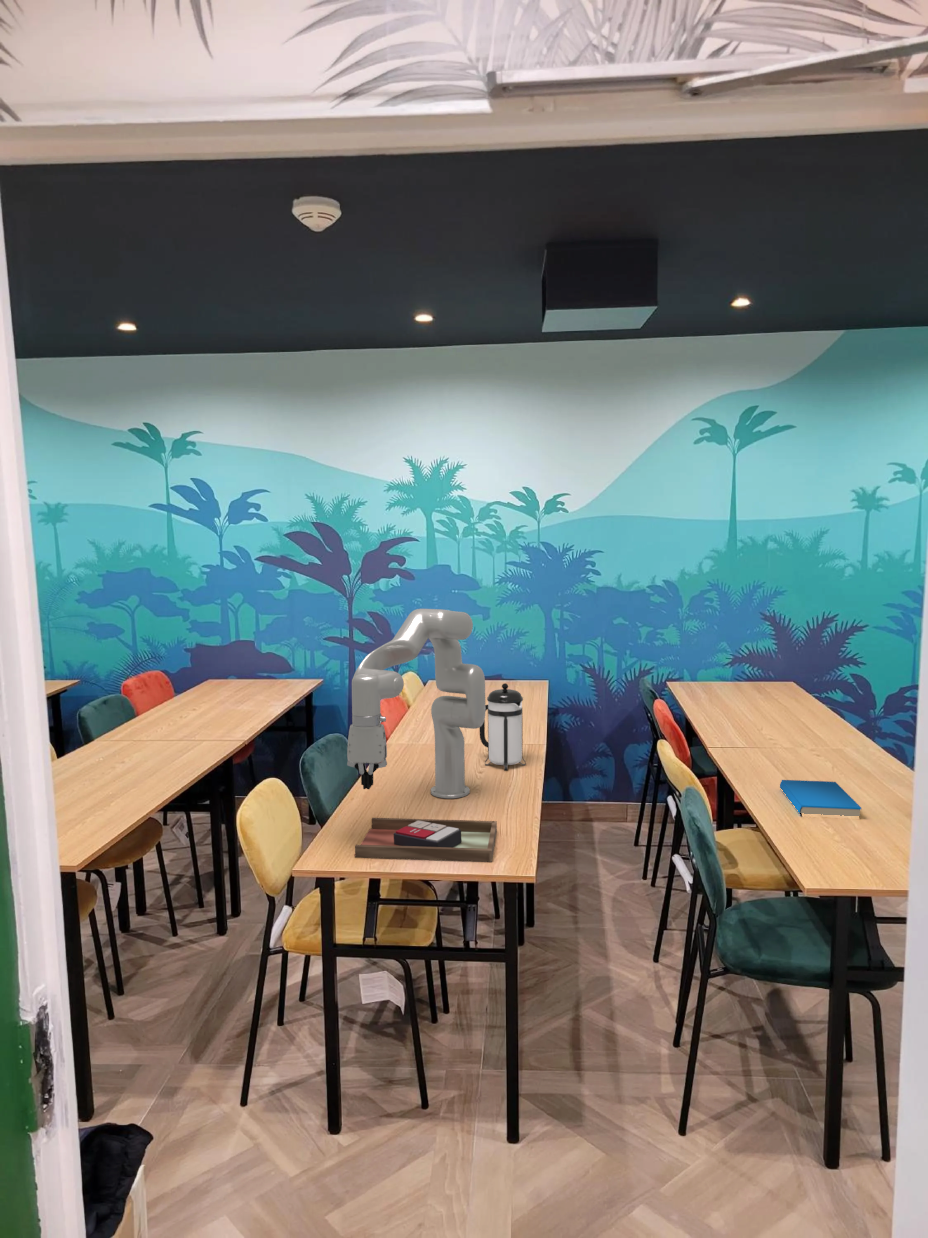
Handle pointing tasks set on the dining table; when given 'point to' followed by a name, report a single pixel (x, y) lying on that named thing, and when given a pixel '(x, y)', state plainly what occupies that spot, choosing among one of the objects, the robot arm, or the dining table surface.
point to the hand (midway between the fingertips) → (367, 787)
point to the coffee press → (504, 727)
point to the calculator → (427, 835)
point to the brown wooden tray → (472, 848)
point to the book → (819, 798)
